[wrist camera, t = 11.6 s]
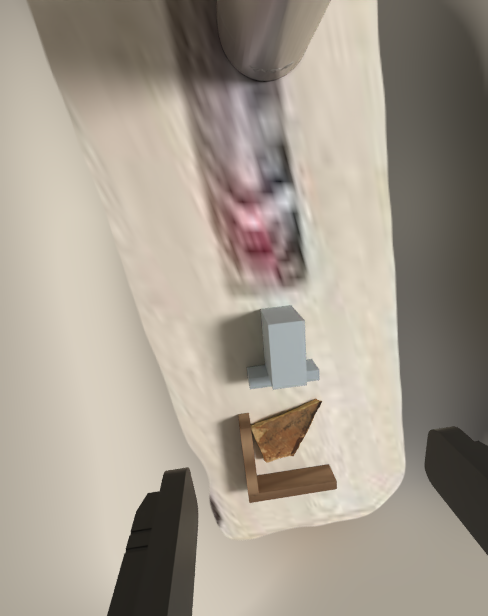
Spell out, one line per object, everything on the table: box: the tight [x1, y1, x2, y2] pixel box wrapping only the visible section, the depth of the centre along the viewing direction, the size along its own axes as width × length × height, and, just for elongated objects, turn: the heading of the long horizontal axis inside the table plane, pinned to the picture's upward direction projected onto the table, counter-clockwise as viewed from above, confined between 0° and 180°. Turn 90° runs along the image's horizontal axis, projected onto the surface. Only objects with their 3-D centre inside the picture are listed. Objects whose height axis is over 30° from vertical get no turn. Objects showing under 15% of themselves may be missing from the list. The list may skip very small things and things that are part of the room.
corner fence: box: [238, 413, 337, 503], centre depth 41 cm, size 13×13×3 cm
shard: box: [251, 399, 322, 463], centre depth 41 cm, size 11×8×2 cm
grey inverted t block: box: [247, 306, 319, 390], centre depth 35 cm, size 10×9×6 cm
